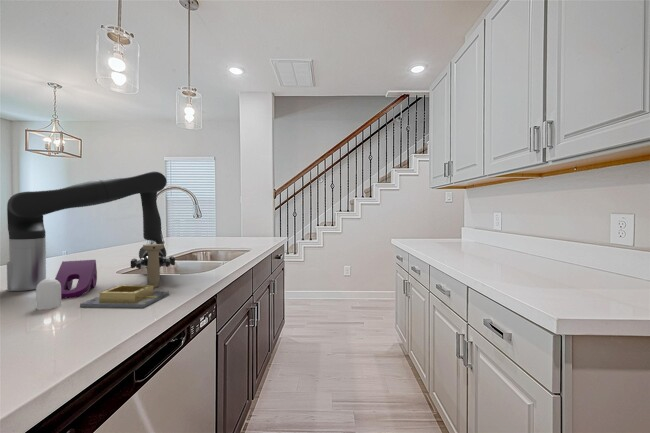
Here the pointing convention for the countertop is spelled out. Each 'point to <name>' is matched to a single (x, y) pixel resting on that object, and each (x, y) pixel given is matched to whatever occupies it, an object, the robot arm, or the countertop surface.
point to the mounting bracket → (77, 277)
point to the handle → (153, 263)
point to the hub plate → (126, 297)
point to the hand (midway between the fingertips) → (153, 265)
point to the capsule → (48, 294)
